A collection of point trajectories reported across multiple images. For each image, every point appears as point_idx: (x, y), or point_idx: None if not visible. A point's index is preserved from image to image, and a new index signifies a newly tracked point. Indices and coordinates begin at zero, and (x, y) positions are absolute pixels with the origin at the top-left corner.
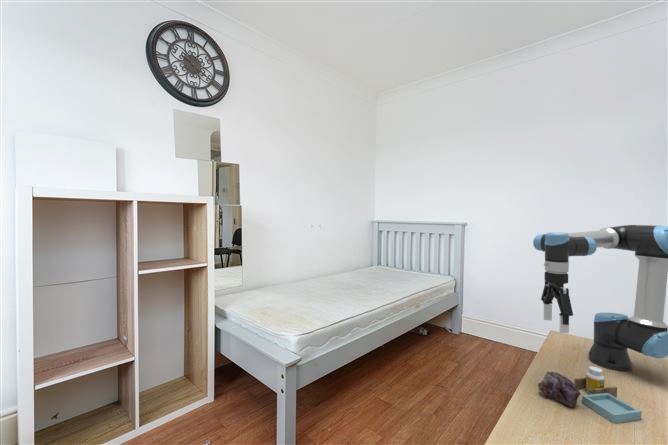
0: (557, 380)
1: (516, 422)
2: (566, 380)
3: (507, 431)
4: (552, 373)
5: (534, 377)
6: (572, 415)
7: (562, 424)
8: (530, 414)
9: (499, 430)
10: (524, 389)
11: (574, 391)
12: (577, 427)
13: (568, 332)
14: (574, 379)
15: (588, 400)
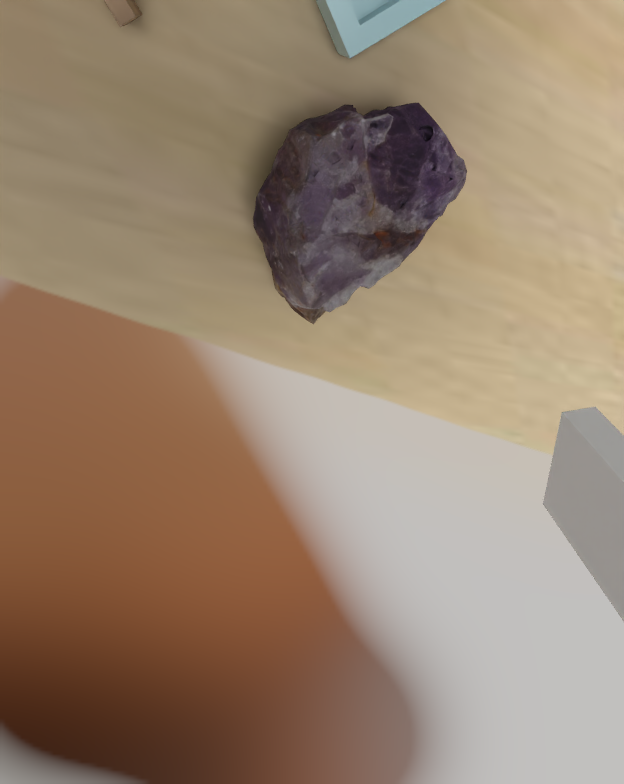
0: (386, 257)
1: None
2: (342, 180)
3: None
4: (325, 279)
5: (81, 271)
6: (485, 173)
7: (564, 250)
8: (504, 364)
9: None
10: (278, 354)
11: (449, 159)
12: (582, 187)
13: (598, 417)
14: (122, 25)
15: (391, 32)
